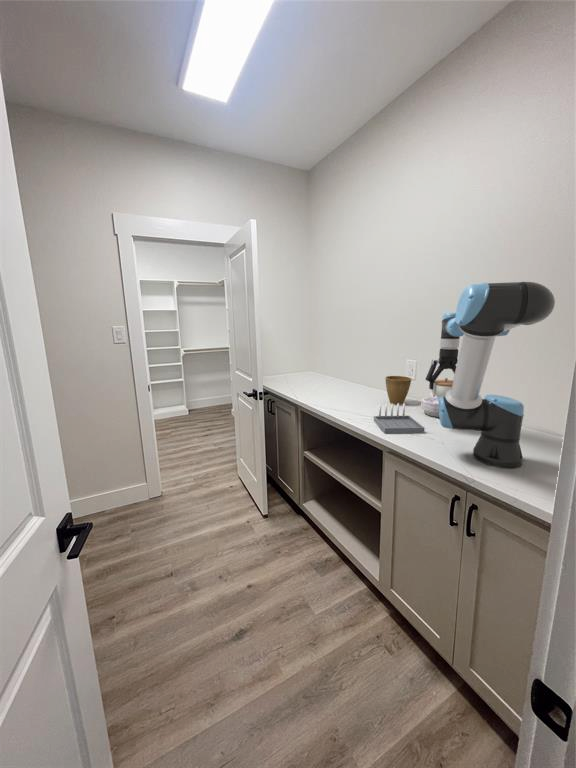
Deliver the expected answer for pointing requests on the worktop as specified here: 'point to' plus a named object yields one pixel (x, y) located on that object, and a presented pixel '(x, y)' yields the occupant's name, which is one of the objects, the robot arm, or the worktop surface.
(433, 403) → the paper bowls
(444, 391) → the lidded jar
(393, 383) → the plant pot
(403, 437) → the worktop surface
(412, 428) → the dish rack
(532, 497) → the worktop surface
